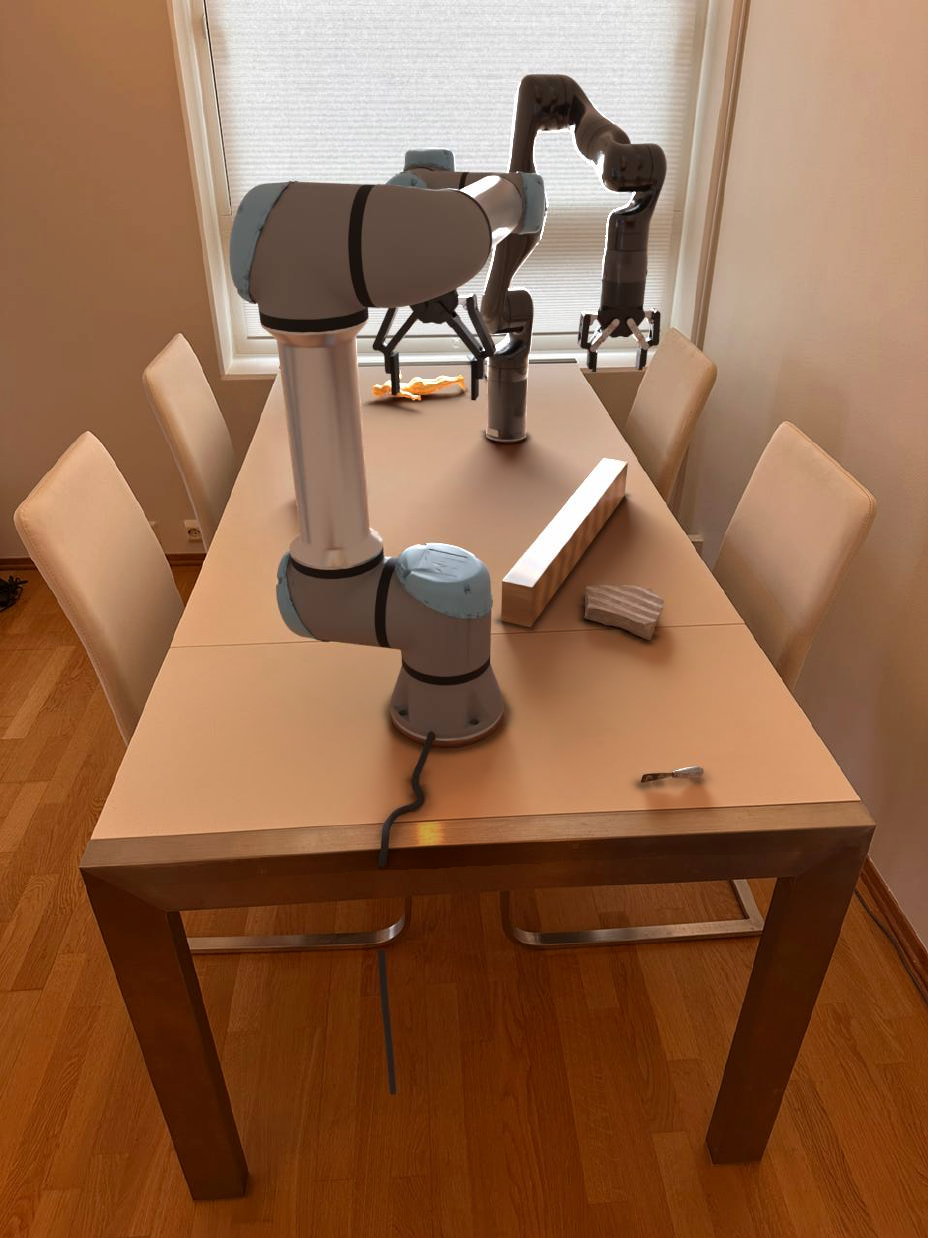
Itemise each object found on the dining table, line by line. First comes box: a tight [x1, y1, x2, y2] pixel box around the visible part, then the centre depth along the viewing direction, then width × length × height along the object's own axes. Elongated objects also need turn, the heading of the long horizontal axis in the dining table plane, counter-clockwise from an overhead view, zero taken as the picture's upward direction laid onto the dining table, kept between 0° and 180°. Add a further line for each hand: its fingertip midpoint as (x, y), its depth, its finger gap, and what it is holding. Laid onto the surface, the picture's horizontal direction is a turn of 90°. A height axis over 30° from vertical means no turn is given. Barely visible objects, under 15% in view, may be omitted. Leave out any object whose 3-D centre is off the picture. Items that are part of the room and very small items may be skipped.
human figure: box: [371, 370, 466, 401], centre depth 236 cm, size 20×20×4 cm
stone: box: [583, 584, 665, 641], centre depth 141 cm, size 13×12×3 cm
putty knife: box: [640, 765, 705, 784], centre depth 109 cm, size 1×8×2 cm, turn 103°
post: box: [500, 457, 629, 628], centre depth 159 cm, size 55×5×7 cm, turn 156°
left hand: (435, 395), depth 149 cm, fingers open, 13 cm apart
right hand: (615, 370), depth 161 cm, fingers open, 8 cm apart
